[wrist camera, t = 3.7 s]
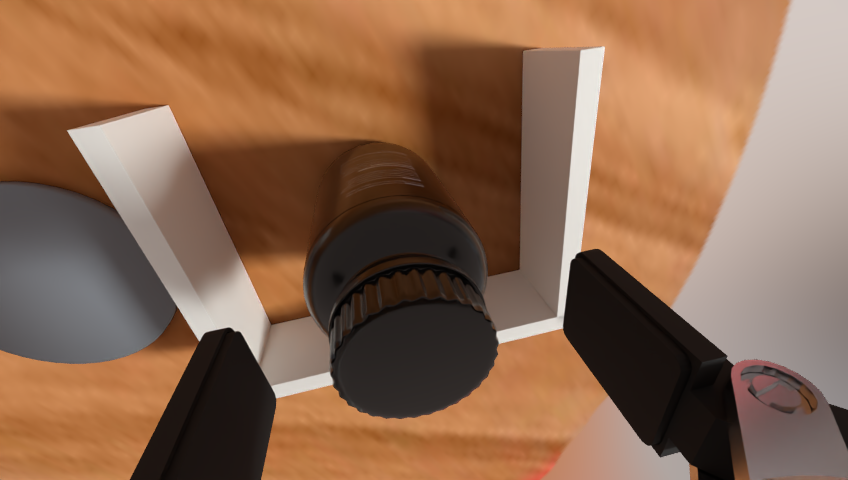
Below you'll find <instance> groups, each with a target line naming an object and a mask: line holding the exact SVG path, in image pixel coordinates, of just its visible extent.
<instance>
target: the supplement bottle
mask: <svg viewBox="0 0 848 480" xmlns="http://www.w3.org/2000/svg"><path fill="white" fill-rule="evenodd" d="M487 277H488V265H487V258H486V254H485V250H484V247H483V245H482V243H481V241H480V239H479V237H478V235H477V233H476V232H475V230H474V229H473V227H472V226H471V224H470V223H469V221H468V220H467V219H466V217H465V216H464V214H463V213H462V211H461V210H460V209H459V207H458V206H457V204H456V203H455V202H454V200H453V199H452V197H451V196H450V194H449V193H448V192H447V190H446V189H445V187H444V186H443V185H442V183H441V182H440V180H439V179H438V178H437V176H436V175H435V173H434V172H433V171H432V169H431V168H430V167H429V166H428V164H427V163H426V162H425V161H424V160H423V159H422V158H421V157H419V156H418V155H417V154H416V153H414V152H412V151H411V150H409V149H407V148H405V147H402V146H399V145H395V144H390V143H369V144H364V145H360V146H358V147H355V148H353V149H351V150H349V151H347V152H345V153H344V154H342V155H341V156H340V157H338V158H337V159H336V160H335V161H334V162H333V163H332V164H331V165H330V167H329V168H328V170H327V171H326V173H325V174H324V176H323V178H322V181H321V183H320V186H319V190H318V194H317V199H316V205H315V210H314V216H313V222H312V227H311V233H310V238H309V244H308V250H307V255H306V261H305V267H304V277H303V291H304V297H305V302H306V305H307V308H308V311H309V313H310V315H311V317H312V318H313V320H314V322H315V323H316V325H317V326H318V327H319V328H320V330H321V331H322V332H323V333H324V334H325V335H326V336H327V337H328V338H329V344H330V364H329V371H330V376H331V377H332V381H333V387H334V388H335V389H336V390H338V391H339V396H340V397H341V398H342V399H344V400H346V401H347V403H348V405H349V406H352V407H355V408H357V410H358V411H359V412H363V413H368V414H369V415H371V416H380V417H383V418H386V419H387V418H398V419H403V418H407V417H412V418H416V417H418V416H421V415H429V414H432V413H434V412H436V411H440V410H444V409H445V408H447V407H448V406H450V405H453V404H456V403H458V402H459V401H460V400H461V399H462V398H464V397H467V396H469V395H470V393H471V392H472V391H473V390H474V389H476V388H478V387H479V386H480V384H481V382H482V381H483V380H484V379H485V378H487V377H488V374H489V371H490V370H491V369H492V367H493V366H494V360H495V358H496V357H497V355H498V352H497V347H498V344H499V341H498V338H497V336H496V334H497V330H496V327H495V325H494V323H493V321H492V319H491V317H490V315H489V313H488V311H487V309H486V305H485V301H484V298H483V296H484V293H485V289H486V285H487Z"/></svg>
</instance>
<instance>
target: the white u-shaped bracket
mask: <svg viewBox="0 0 848 480" xmlns="http://www.w3.org/2000/svg"><path fill="white" fill-rule="evenodd" d="M604 50H605V47H562V48H538V49H532V50H525V51H523V85H522V151H521V217H520V270H516V271H511V272H507V273H502V274H498V275H493V276H489V277H487V285H486V289H485V293H484V296H483V298H484V301H485V305H486V309H487V311H488V313H489V315H490V317H491V319H492V321H493V323H494V325H495V327H496V330H497V334H496V336H497V338H498V341H499V344H500V343H504V342H508V341H513V340H517V339H521V338H525V337H529V336H533V335H537V334H541V333H545V332H549V331H553V330H557V329H561V328H563V320H564V311H565V303H566V295H567V286H568V278H569V270H570V263H571V260H572V259H575V256H576V254H577V253H579V252H581V244H582V236H583V227H584V219H585V210H586V202H587V194H588V185H589V177H590V168H591V160H592V151H593V143H594V135H595V126H596V118H597V109H598V101H599V92H600V84H601V76H602V67H603V59H604ZM67 132H68V133H69V135H70V136H71V138H72V139H73V141H74V143H75V144H76V146H77V147H78V149H79V151H80V152H81V154H82V155H83V157H84V159H85V160H86V162H87V163H88V165H89V167H90V168H91V170H92V171H93V173H94V175H95V176H96V178H97V179H98V181H99V182H100V184H101V186H102V187H103V189H104V190H105V192H106V194H107V195H108V197H109V198H110V200H111V202H112V203H113V205H114V206H115V208H116V210H117V211H118V213H119V214H120V216H121V218H122V219H123V221H124V222H125V224H126V225H127V227H128V229H129V230H130V232H131V233H132V235H133V237H134V238H135V240H136V241H137V243H138V245H139V246H140V248H141V249H142V251H143V253H144V254H145V256H146V257H147V259H148V261H149V262H150V264H151V265H152V267H153V269H154V270H155V272H156V273H157V275H158V276H159V278H160V280H161V281H162V283H163V284H164V286H165V288H166V289H167V291H168V292H169V294H170V296H171V297H172V299H173V300H174V302H175V304H176V305H177V307H178V308H179V310H180V312H181V313H182V315H183V316H184V318H185V319H186V321H187V323H188V324H189V326H190V327H191V329H192V331H193V332H194V334H195V335H196V337H197V339H198V340H199V342H200V340H201V338H202V336H203V335H204V333H206V332H209V331H214V330H218V329H223V328H228V327H230V328H232V329H233V330H234V331H239V332H241V334H242V335H243V337H244V339H245V340H246V342H247V344H248V346H249V348H250V349H251V351H252V353H253V355H254V357H255V358H256V360H257V362H258V364H259V366H260V367H261V369H262V371H263V373H264V375H265V376H266V378H267V380H268V382H269V384H270V385H271V387H272V389H273V391H274V393H275V396H276V398H280V397H284V396H288V395H292V394H296V393H300V392H304V391H308V390H313V389H317V388H321V387H325V386H329V385H333V381H332V377H331V376H330V371H329V364H330V344H329V338H328V337H327V336H326V335H325V334H324V333H323V332H322V331H321V330H320V328H319V327H318V326H317V325H316V323H315V322H314V320H313V318H312V317H311V316H310V317H305V318H301V319H296V320H292V321H287V322H283V323H278V324H274V325H271V323H270V321H269V319H268V317H267V315H266V313H265V311H264V308H263V306H262V304H261V302H260V300H259V298H258V296H257V293H256V291H255V289H254V287H253V285H252V283H251V281H250V278H249V276H248V274H247V272H246V270H245V268H244V266H243V263H242V261H241V259H240V257H239V255H238V253H237V251H236V248H235V246H234V244H233V242H232V240H231V238H230V236H229V234H228V231H227V229H226V227H225V225H224V223H223V221H222V219H221V216H220V214H219V212H218V210H217V208H216V206H215V204H214V201H213V199H212V197H211V195H210V193H209V191H208V189H207V186H206V184H205V182H204V180H203V178H202V176H201V174H200V171H199V169H198V167H197V165H196V163H195V161H194V159H193V156H192V154H191V152H190V150H189V148H188V146H187V144H186V142H185V139H184V137H183V135H182V133H181V131H180V129H179V127H178V124H177V122H176V120H175V118H174V116H173V114H172V112H171V109H170V107H169V105H166V106H160V107H153V108H147V109H142V110H139V111H135V112H132V113H128V114H124V115H121V116H117V117H114V118H110V119H106V120H103V121H99V122H96V123H92V124H88V125H85V126H81V127H78V128H74V129H70V130H67Z"/></svg>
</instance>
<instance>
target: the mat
mask: <svg viewBox="0 0 848 480" xmlns="http://www.w3.org/2000/svg"><path fill="white" fill-rule="evenodd" d="M176 309H177V305H176V304H175V302H174V300H173V299H172V297H171V296H170V294H169V292H168V291H167V289H166V288H165V286H164V284H163V283H162V281H161V280H160V278H159V276H158V275H157V273H156V272H155V270H154V269H153V267H152V265H151V264H150V262H149V261H148V259H147V257H146V256H145V254H144V253H143V251H142V249H141V248H140V246H139V245H138V243H137V241H136V240H135V238H134V237H133V235H132V233H131V232H130V230H129V229H128V227H127V225H126V224H125V222H124V221H123V219H122V218H121V216H120V214H119V213H118V211H116V210H114V209H113V208H111V207H109V206H107V205H105V204H103V203H101V202H99V201H97V200H94V199H92V198H89V197H87V196H84V195H81V194H79V193H76V192H73V191H69V190H66V189H62V188H59V187H54V186H49V185H44V184H38V183H28V182H0V350H2V351H5V352H8V353H11V354H15V355H18V356H22V357H26V358H31V359H35V360H41V361H48V362H55V363H69V364H86V363H97V362H104V361H110V360H115V359H118V358H122V357H125V356H128V355H130V354H133V353H136V352H138V351H139V350H141V349H143V348H145V347H147V346H148V345H150V344H151V343H152V342H154V341H155V340H156V339H157V338H158V337H159V336H160V335H161V334H162V333H163V332H164V330H165V329H166V327H167V326H168V324H169V323H170V321H171V320H172V318H173V316H174V314H175V312H176Z"/></svg>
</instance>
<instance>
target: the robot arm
mask: <svg viewBox="0 0 848 480" xmlns="http://www.w3.org/2000/svg"><path fill="white" fill-rule="evenodd" d="M563 330H564V333H565V336H566V337H567V339H568V340H569V342H570V343H571V344H572V346H573V347H574V349H575V350H576V351H577V353H578V354H579V355H580V357H581V358H582V360H583V361H584V362H585V364H586V365H587V366H588V368H589V369H590V371H591V372H592V373H593V375H594V376H595V377H596V379H597V380H598V382H599V383H600V384H601V386H602V387H603V388H604V390H605V391H606V393H607V394H608V395H609V397H610V398H611V399H612V401H613V402H614V403H615V405H616V406H617V408H618V409H619V410H620V412H621V413H622V415H623V416H624V417H625V419H626V420H627V421H628V423H629V424H630V425H631V427H632V428H633V430H634V431H635V432H636V434H637V435H638V436H639V438H640V439H641V440H642V442H644V443H645V444H646V445H648V446H650V445H651V446H652V447H653V449H654V450H655V451H656V453H657V454H658V455H659V456H660V457H663V456H667V455H671V454H674V453H678V452H681V453H682V455H683V456H684V457H685V458H686V460H687V461H688V462H689V465H690V480H848V410H846V409H844V408H840V407H837V406H834V405H831V404H828V402H827V400H826V399H825V397H824V396H823V394H822V392H821V391H820V390H819V389H817V387H816V386H815V385H813V384H812V383H811V382H810V381H809V380H807V379H806V378H804V377H803V376H801V375H799V374H798V373H796V372H794V371H792V370H790V369H788V368H786V367H784V366H781V365H778V364H775V363H772V362H769V361H762V360H757V359H756V360H755V359H754V360H744V361H741V362H738V363H736V364H735V365H733V364H732V363H730V362H729V361H728V360H727V359H726V358H727V355H726V354H724V353H723V352H722V351H721V350H720V349H718V348H717V347H716V346H715V345H714V344H713V343H711V342H710V341H709V340H708V339H706V338H705V337H704V336H703V335H702V334H701V333H699V332H698V331H697V330H696V329H695V328H693V327H692V326H691V325H690V324H689V323H687V322H686V321H685V320H684V319H683V318H681V317H680V316H679V315H678V314H677V313H675V312H674V311H673V310H672V309H671V308H670V307H668V306H667V305H666V304H665V303H664V302H662V301H661V300H660V299H659V298H658V297H656V296H655V295H654V294H653V293H652V292H650V291H649V290H648V289H647V288H646V287H644V286H643V285H642V284H641V283H640V282H638V281H637V280H636V279H635V278H634V277H632V276H631V275H630V274H629V273H628V272H626V271H625V270H624V269H623V268H622V267H621V266H619V265H618V264H617V263H616V262H615V261H613V260H612V259H611V258H610V257H609V256H607V255H606V254H605V253H604V252H603V251H601V250H599V249H593V250H589V251H584V252H579V253H577V254H576V256H575V259H572V260H571V263H570V270H569V278H568V286H567V295H566V303H565V311H564V320H563ZM275 409H276V396H275V393H274V391H273V389H272V387H271V385H270V384H269V382H268V380H267V378H266V376H265V375H264V373H263V371H262V369H261V367H260V366H259V364H258V362H257V360H256V358H255V357H254V355H253V353H252V351H251V349H250V348H249V346H248V344H247V342H246V340H245V339H244V337H243V335H242V334H241V332H239V331H234V330H233V329H232V328H230V327H228V328H223V329H218V330H214V331H209V332H206V333H204V335H203V336H202V338H201V340H200V342H199V344H198V346H197V348H196V350H195V352H194V354H193V356H192V358H191V360H190V362H189V364H188V366H187V368H186V370H185V372H184V373H183V375H182V377H181V379H180V381H179V383H178V385H177V387H176V389H175V391H174V393H173V395H172V397H171V399H170V401H169V403H168V405H167V407H166V409H165V411H164V413H163V415H162V417H161V419H160V421H159V423H158V425H157V427H156V429H155V431H154V433H153V435H152V437H151V439H150V441H149V443H148V445H147V447H146V449H145V451H144V453H143V455H142V457H141V459H140V461H139V463H138V465H137V467H136V469H135V471H134V473H133V475H132V477H131V479H130V480H261V477H262V472H263V467H264V462H265V457H266V453H267V448H268V443H269V438H270V433H271V428H272V423H273V418H274V414H275Z"/></svg>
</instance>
